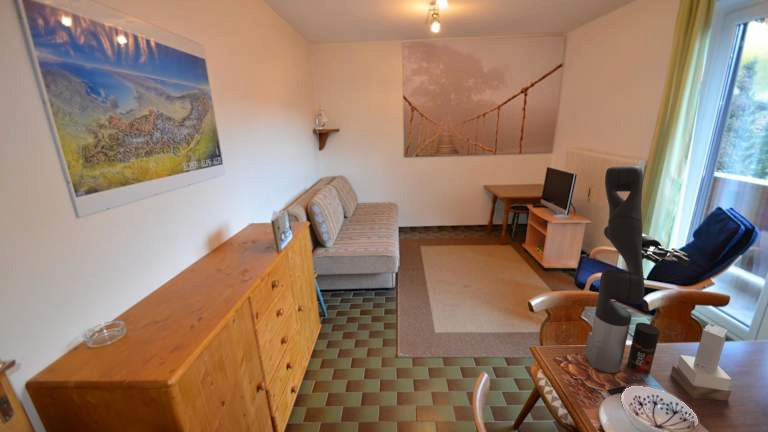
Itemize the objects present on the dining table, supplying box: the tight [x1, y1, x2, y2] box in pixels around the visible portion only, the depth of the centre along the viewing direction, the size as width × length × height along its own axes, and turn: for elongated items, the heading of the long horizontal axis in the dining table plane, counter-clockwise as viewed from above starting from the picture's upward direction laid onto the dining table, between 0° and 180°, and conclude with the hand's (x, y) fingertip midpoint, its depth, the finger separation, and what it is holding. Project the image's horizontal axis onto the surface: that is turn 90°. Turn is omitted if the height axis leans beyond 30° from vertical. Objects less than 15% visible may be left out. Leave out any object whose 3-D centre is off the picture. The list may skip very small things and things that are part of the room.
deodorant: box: [626, 322, 661, 376], centre depth 102 cm, size 6×6×15 cm
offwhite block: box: [676, 354, 732, 391], centre depth 95 cm, size 8×8×4 cm
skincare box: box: [694, 323, 729, 373], centre depth 93 cm, size 6×4×12 cm
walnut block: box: [669, 364, 732, 401], centre depth 96 cm, size 9×9×4 cm
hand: (673, 262), depth 106 cm, fingers open, 8 cm apart
